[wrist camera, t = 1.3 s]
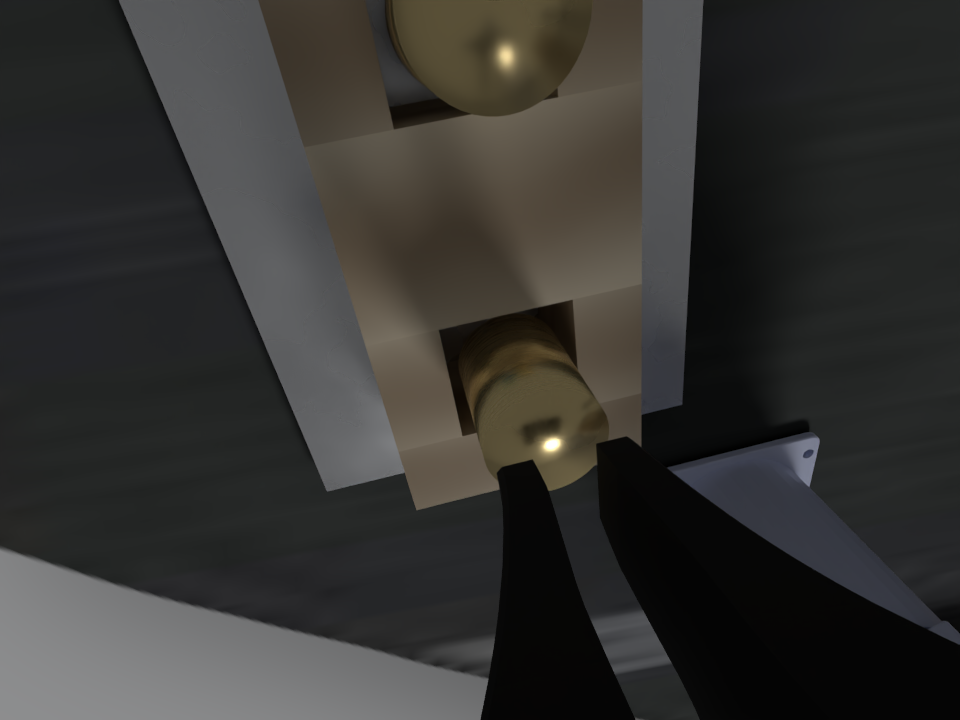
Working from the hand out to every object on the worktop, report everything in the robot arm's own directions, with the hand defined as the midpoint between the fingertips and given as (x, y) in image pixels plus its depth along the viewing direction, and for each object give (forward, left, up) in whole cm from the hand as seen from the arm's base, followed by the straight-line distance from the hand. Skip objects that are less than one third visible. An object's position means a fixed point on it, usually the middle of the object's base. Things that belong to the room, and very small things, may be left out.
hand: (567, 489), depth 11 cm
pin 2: (0, 0, -5) cm, 5 cm away
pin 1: (+8, 0, -5) cm, 9 cm away
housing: (+4, 0, -9) cm, 10 cm away
